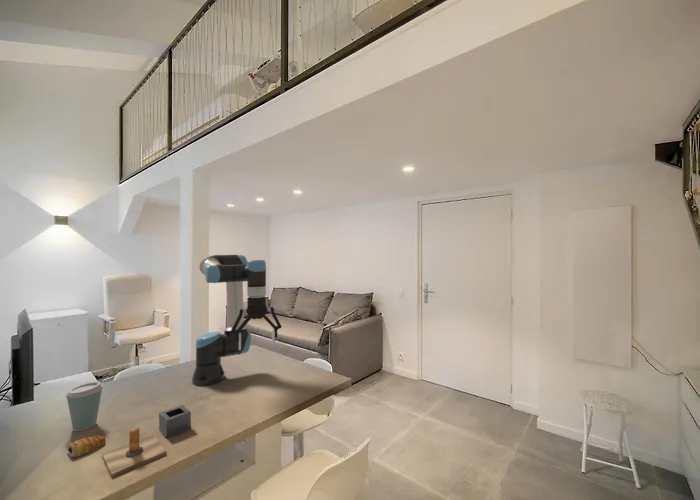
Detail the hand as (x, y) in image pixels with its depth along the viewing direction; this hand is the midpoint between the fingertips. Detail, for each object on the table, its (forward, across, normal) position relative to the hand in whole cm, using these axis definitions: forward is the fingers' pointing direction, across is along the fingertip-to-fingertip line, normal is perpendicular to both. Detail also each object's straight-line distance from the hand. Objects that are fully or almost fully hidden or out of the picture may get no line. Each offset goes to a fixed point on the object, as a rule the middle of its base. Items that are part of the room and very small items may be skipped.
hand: (257, 347), depth 129 cm
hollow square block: (+25, -30, -5) cm, 39 cm away
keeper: (+25, -39, -18) cm, 50 cm away
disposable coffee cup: (+25, -61, +11) cm, 67 cm away
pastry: (+25, -55, -7) cm, 61 cm away
